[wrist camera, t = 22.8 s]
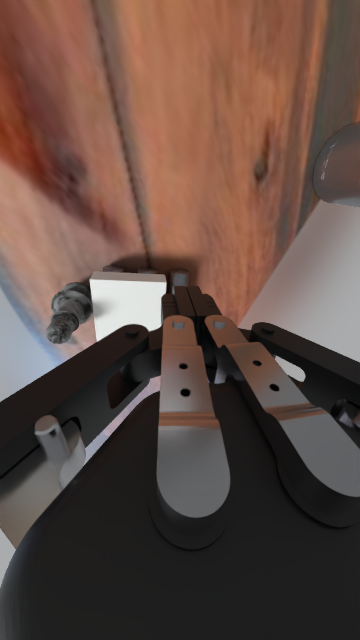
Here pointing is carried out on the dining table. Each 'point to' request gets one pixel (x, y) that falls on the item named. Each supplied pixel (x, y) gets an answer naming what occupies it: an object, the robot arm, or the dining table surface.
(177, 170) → the dining table surface
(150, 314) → the slab
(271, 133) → the dining table surface
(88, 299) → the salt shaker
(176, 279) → the roller track
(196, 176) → the dining table surface
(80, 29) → the dining table surface
